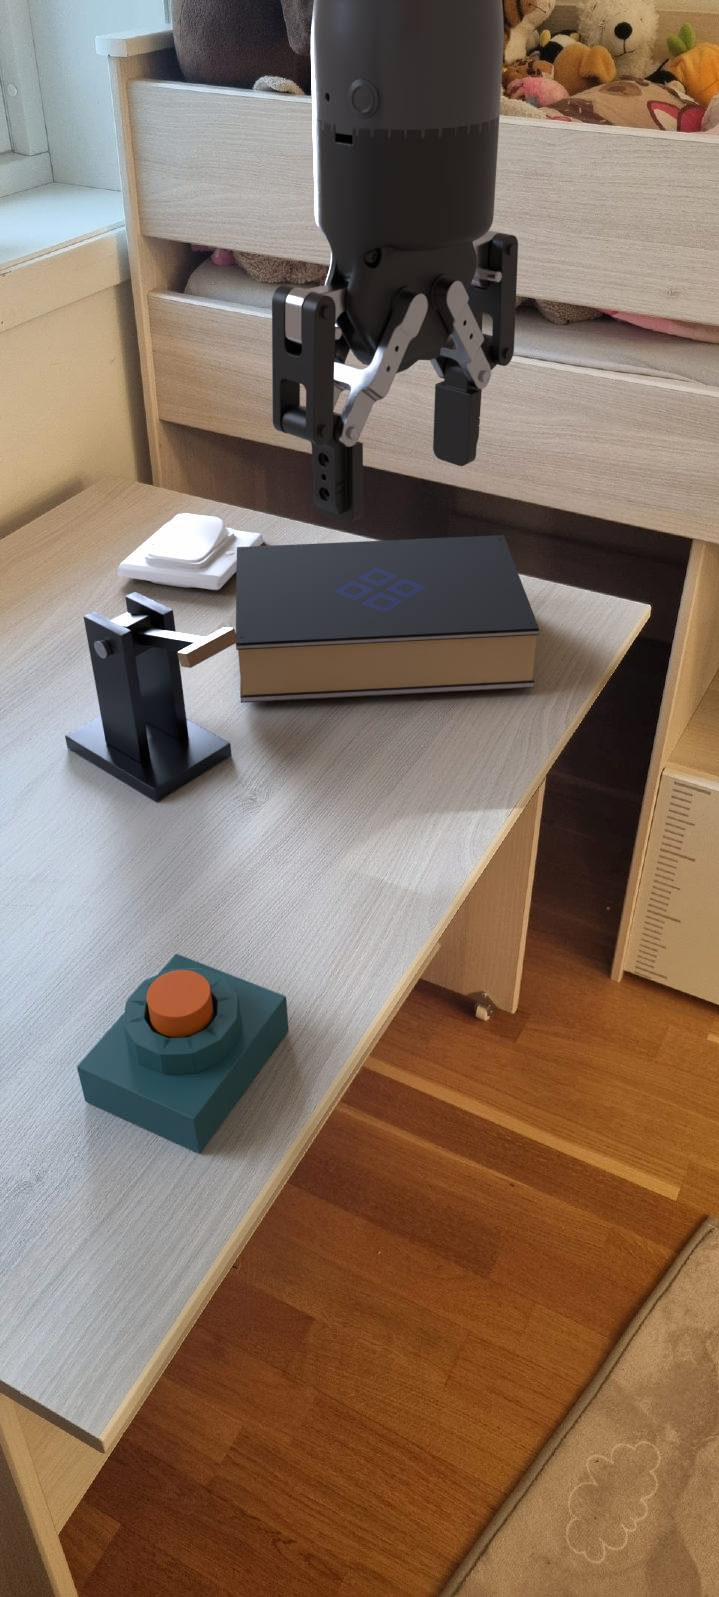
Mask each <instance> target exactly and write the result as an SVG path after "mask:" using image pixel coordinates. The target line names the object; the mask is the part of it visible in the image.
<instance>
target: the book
mask: <svg viewBox="0 0 719 1597" xmlns="http://www.w3.org/2000/svg"><path fill="white" fill-rule="evenodd" d="M519 574H520V573H519V572H518V570H517V566H516V564H515V561H514V559H513V556H512V554H511V551H510V548H509V545H508V542H507V541H506V538H505V536H504V534H502V535H499V534H497V535H480V536H479V535H477V536H456V537H439V538H438V537H433V538H413V539H392V540H391V539H388V540H387V539H386V540H364V541H344V542H343V541H342V542H321V543H319V542H318V543H300V544H299V543H298V544H296V543H295V544H277V545H276V544H275V545H260V546H251V547H237V571H236V579H235V580H236V582H235V583H236V584H235V586H236V588H235V589H236V591H235V633H236V636H237V640H238V642H237V643H235V650H236V651H237V653H238V654H237V655H238V665H239V666H238V668H239V679H240V681H239V683H240V686H239V690H240V691H239V692H240V693H239V695H240V696H239V697H240V703H241V704H242V703H244V704H245V703H261V702H262V703H264V702H283V701H297V700H298V701H301V700H302V701H303V700H320V699H321V700H322V699H337V698H338V699H341V698H357V697H358V698H361V697H378V696H380V697H381V696H398V695H400V696H401V695H416V694H417V695H420V694H435V693H437V694H438V693H456V692H457V693H458V692H477V691H478V692H479V691H496V690H516V689H517V690H518V689H533V688H535V683H536V682H535V680H534V668H535V657H536V648H537V638H538V636H539V635H540V633H539V632H540V626H539V624H538V621H537V619H536V616H535V614H534V611H533V609H532V606H531V603H530V601H529V598H528V595H527V593H526V590H525V587H524V585H523V583H522V580H521V577H520V575H519Z"/></svg>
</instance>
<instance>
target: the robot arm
mask: <svg viewBox="0 0 719 1597" xmlns="http://www.w3.org/2000/svg"><path fill="white" fill-rule="evenodd" d="M503 9H504V8H503V0H313V8H312V19H311V29H310V32H311V33H310V66H311V69H310V71H311V99H312V100H311V106H312V109H311V110H312V115H311V116H312V148H313V149H312V150H313V186H314V187H313V190H314V193H313V194H314V219H315V220H314V221H315V224H316V226H317V228H318V230H319V231H320V232H321V234H322V235H323V236H324V238H325V239H326V240H325V241H327V244H328V246H329V249H330V264H329V269H328V273H327V276H326V279H325V283H324V285H319V286H315V287H310V288H302V287H294V286H291V285H286V284H281V285H279V286H278V287H277V288H275V291H274V292H273V295H272V298H271V339H272V340H271V351H272V352H271V355H272V356H271V358H272V359H271V362H272V363H271V364H272V365H271V367H272V369H271V370H272V372H271V374H272V376H271V378H272V383H271V384H272V425H273V427H274V429H275V430H276V431H278V432H281V433H284V434H288V435H291V436H294V437H297V438H299V439H302V440H306V441H308V442H310V445H311V464H312V465H311V467H312V468H311V469H312V471H311V472H312V485H313V486H312V498H313V501H314V503H315V506H316V507H318V509H319V511H320V512H321V514H323V515H324V516H327V517H328V518H331V519H334V520H337V521H339V522H342V523H345V524H350V523H352V522H354V521H356V520H358V519H360V518H362V516H363V514H364V443H363V442H361V441H359V439H360V437H361V435H362V432H363V430H364V427H365V425H366V423H367V420H368V418H369V417H370V414H371V411H372V408H373V406H374V404H375V403H376V402H378V401H381V400H383V399H384V398H386V396H387V395H388V394H389V392H390V389H391V387H392V384H393V383H394V380H395V377H396V375H397V374H400V373H402V372H404V371H407V370H408V369H410V368H411V367H413V365H414V364H416V363H417V362H418V361H429V362H430V363H431V365H432V367H433V369H434V371H435V373H436V375H437V376H438V378H440V379H443V380H442V381H440V382H437V383H435V384H434V408H433V410H434V411H433V439H432V440H433V441H432V450H433V451H432V452H433V454H434V456H435V457H436V458H437V459H438V460H440V461H443V462H446V463H449V464H452V465H455V466H458V467H464V466H466V465H469V464H470V463H473V462H474V461H475V460H476V458H477V448H478V447H477V446H478V441H479V438H480V423H481V410H482V409H481V408H482V407H481V405H482V391H483V390H484V389H485V388H486V387H487V386H488V384H489V382H490V380H491V376H492V370H494V368H496V366H502V367H506V366H508V365H509V364H510V362H511V361H512V359H513V357H514V353H515V335H516V334H515V333H516V310H517V309H516V307H517V286H518V285H517V284H518V263H519V262H518V260H519V259H518V258H519V241H518V238H517V236H516V235H514V234H508V233H503V232H499V231H498V232H497V231H493V230H490V229H491V227H492V226H493V222H494V214H495V201H496V200H495V199H496V198H495V197H496V183H497V182H496V181H497V167H498V166H497V165H498V149H499V133H500V132H499V131H500V117H501V116H500V115H501V113H500V112H501V97H502V96H501V95H502V82H503V81H502V79H503V77H502V76H503V64H504V63H503V62H504V41H505V40H504V38H505V31H504V30H505V28H504V10H503ZM483 314H487V315H489V316H490V317H491V319H492V331H491V332H492V334H486V333H484V332H483ZM350 351H351V353H352V354H353V356H354V357H355V359H356V360H357V361H359V362H360V363H361V364H362V365H366V366H367V367H365V368H357V367H353V366H351V365H347V364H346V360H347V358H348V356H349V353H350ZM301 386H303V387H304V389H305V405H301ZM343 391H350V392H349V394H348V397H347V399H346V401H345V404H344V406H343V408H342V412H341V413H338V412H335V411H334V410H335V407H336V405H337V403H338V400H339V398H340V395H341V394H342V393H343Z"/></svg>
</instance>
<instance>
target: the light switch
mask: <svg viewBox="0 0 719 1597" xmlns="http://www.w3.org/2000/svg"><path fill="white" fill-rule="evenodd" d="M264 542H265V538H264V535H263V534H261V533H259V532H253V531H244V530H236V529H234V528H231V527H227V526H226V523H225V521H224V520H223V519H221V518H219V517H217V516H212V515H211V516H210V515H202V514H194V513H188V512H184V513H178V514H176V515H175V516H174V517H172V519H170V521H168V522H166V523H165V524H163V525H162V526H161V528H159V529H158V530H156V532H154V534H152V535H151V536H150V537H148V539H146V541H144V542H143V543H142V544H141V545H140V546H139V547H137V548H136V549H135V550H134V551H133V552H132V553H131V554H130V555H129V556H127V557H126V558H125V559H124V560H123V561H121V563H120V564H119V566H118V569H117V576H118V577H120V578H127V579H134V580H140V581H141V580H143V581H147V582H148V581H149V582H150V583H153V584H156V585H157V584H158V585H163V586H172V587H177V588H178V587H179V588H185V589H187V588H197V589H206V590H212V591H218V590H220V589H221V588H222V587H223V586H224V585H225V584H226V583H227V582H228V581H229V580H230V579H231V578H232V577H233V575H234V574H235V573H237V547H251V546H262V544H263V543H264Z"/></svg>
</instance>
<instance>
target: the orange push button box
mask: <svg viewBox="0 0 719 1597" xmlns="http://www.w3.org/2000/svg"><path fill="white" fill-rule="evenodd" d="M178 970H187V971H193V972H196V973H198V974H200V975H202V976H203V977H204V978H205V979H206V980H207V981H208V983H209V985H210V989H211V997H212V1005H213V1015H212V1018H211V1020H210V1022H209V1023H208V1025H207V1026H206V1027H205V1028H204V1029H202V1030H201V1031H199V1032H198V1033H196V1034H193V1035H191V1036H187V1037H180V1038H175V1037H169V1036H166V1035H163V1034H161V1033H160V1032H158V1031H157V1030H156V1029H155V1028H154V1027H153V1025H152V1023H151V1020H150V1014H149V1009H148V1003H147V992H148V990H149V987H150V986H151V984H152V983H153V982H154V981H155V980H156V979H157V978H159V977H160V976H162V975H164V974H166V973H169V972H172V971H178ZM289 1031H290V1030H289V1016H288V1003H287V996H286V995H284V994H281V993H279V992H276V991H273V990H271V989H268V988H266V987H264V986H261V985H258V984H256V983H253V982H251V981H248V980H245V979H243V978H240V977H238V976H235V975H233V974H230V973H227V972H225V971H222V970H220V969H217V968H214V967H211V966H209V965H207V964H204V963H201V962H199V961H196V960H194V959H191V958H188V957H186V956H183V955H181V954H178V953H175V954H174V955H173V956H172V957H171V958H170V959H169V961H168V962H167V963H166V964H165V965H164V967H163V968H162V969H161V970H160V971H159V972H158V974H156V975H154V976H151V977H149V978H147V979H145V980H143V981H142V982H141V983H140V985H138V986H137V987H136V989H135V990H134V992H133V993H131V994H130V996H129V997H128V998H127V999H126V1001H125V1006H124V1012H123V1013H122V1014H121V1016H120V1017H119V1018H117V1020H116V1021H115V1022H114V1023H113V1024H112V1025H111V1027H110V1028H109V1029H108V1030H107V1032H105V1034H104V1035H103V1036H102V1037H101V1038H100V1039H99V1041H98V1042H97V1043H96V1044H95V1045H94V1046H93V1047H92V1049H91V1050H90V1051H88V1053H87V1054H86V1056H84V1057H83V1059H82V1060H81V1061H80V1062H79V1063H78V1065H77V1066H76V1070H77V1074H78V1077H79V1083H80V1086H81V1090H82V1093H83V1098H84V1101H85V1102H86V1103H87V1104H90V1105H92V1106H93V1107H96V1108H98V1109H100V1110H103V1111H105V1112H107V1113H109V1114H111V1115H113V1116H116V1117H118V1118H120V1119H122V1120H124V1121H127V1122H129V1123H131V1124H133V1125H135V1126H138V1127H140V1128H141V1129H144V1130H146V1131H148V1132H151V1133H152V1134H155V1135H156V1136H159V1137H161V1138H164V1139H166V1140H168V1141H170V1142H172V1143H175V1144H177V1145H179V1146H181V1147H183V1148H185V1149H188V1150H190V1151H192V1152H194V1153H196V1154H198V1155H199V1154H201V1153H202V1152H203V1150H204V1149H205V1147H206V1146H207V1145H208V1144H209V1142H210V1140H211V1139H212V1138H213V1136H214V1135H215V1134H216V1133H217V1131H218V1129H219V1128H220V1127H221V1125H223V1123H224V1121H225V1120H226V1119H227V1117H228V1116H229V1114H230V1113H231V1112H232V1110H233V1109H234V1107H235V1106H236V1105H237V1103H238V1102H239V1101H240V1099H241V1097H242V1096H243V1095H244V1094H245V1092H246V1091H247V1090H248V1088H249V1087H250V1086H251V1084H252V1083H253V1081H254V1080H255V1079H256V1078H257V1076H258V1074H259V1073H260V1072H261V1070H262V1069H263V1067H264V1066H266V1063H267V1062H268V1061H269V1060H270V1058H271V1056H272V1055H273V1054H274V1052H275V1051H276V1049H277V1048H278V1047H279V1046H280V1044H281V1043H282V1041H283V1040H284V1038H285V1037H286V1036H287V1035H288V1033H289Z"/></svg>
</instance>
